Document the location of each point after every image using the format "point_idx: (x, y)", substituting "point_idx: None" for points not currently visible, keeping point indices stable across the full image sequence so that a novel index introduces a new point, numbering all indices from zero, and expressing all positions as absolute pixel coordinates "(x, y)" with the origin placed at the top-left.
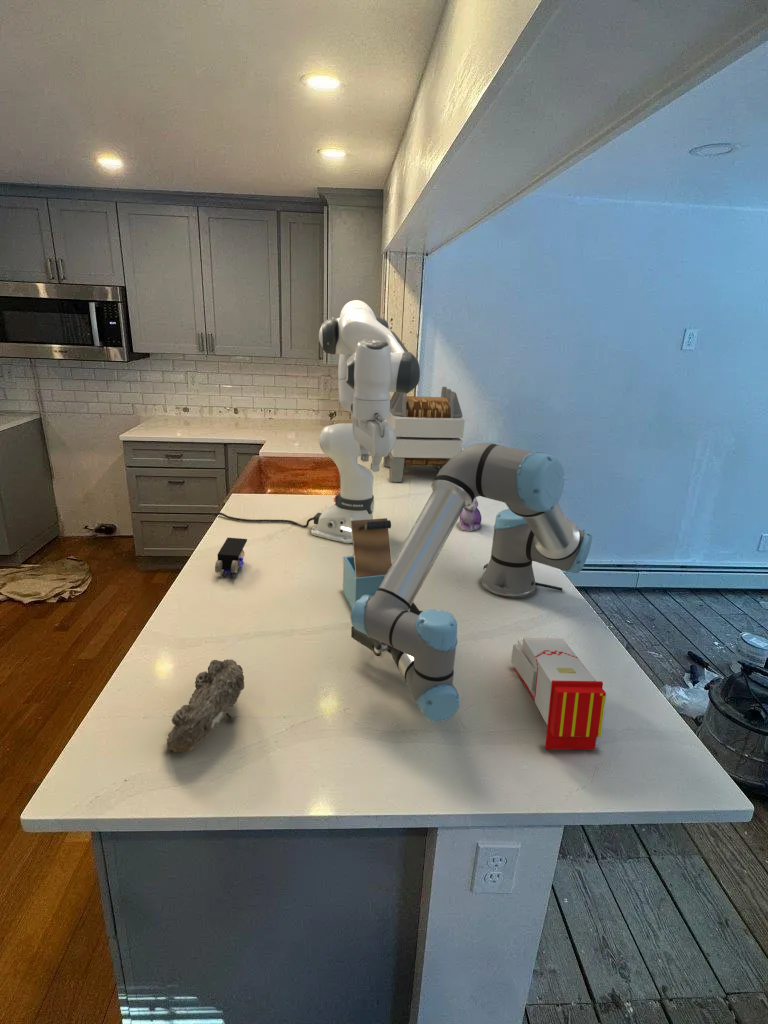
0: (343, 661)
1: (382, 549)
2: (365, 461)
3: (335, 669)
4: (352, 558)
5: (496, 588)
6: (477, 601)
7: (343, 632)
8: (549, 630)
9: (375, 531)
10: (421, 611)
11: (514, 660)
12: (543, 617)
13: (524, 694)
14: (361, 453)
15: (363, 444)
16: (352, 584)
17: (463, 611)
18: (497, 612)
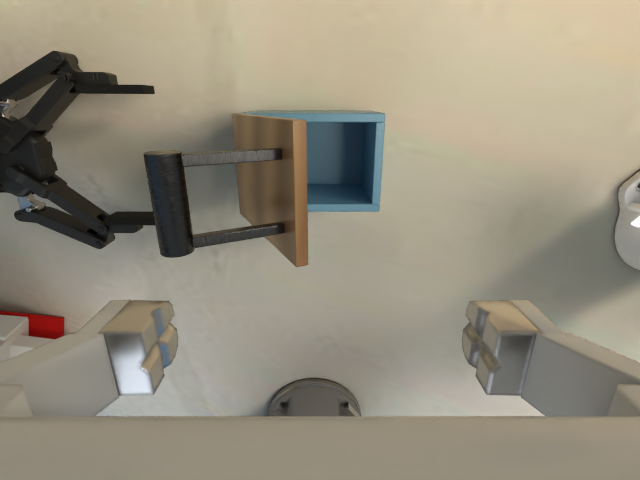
0: (90, 41)
1: (257, 209)
2: (468, 324)
3: (63, 17)
4: (375, 139)
5: (286, 394)
6: (272, 349)
7: (196, 68)
8: (167, 406)
9: (277, 206)
10: (133, 229)
11: (7, 321)
12: (205, 415)
13: (4, 303)
14: (541, 340)
15: (292, 457)
16: (277, 112)
17: (242, 315)
18: (230, 363)
